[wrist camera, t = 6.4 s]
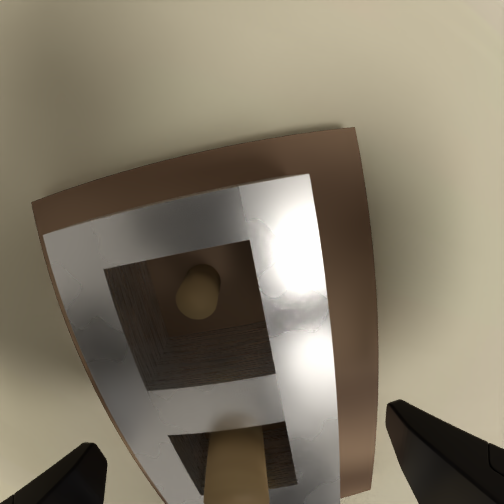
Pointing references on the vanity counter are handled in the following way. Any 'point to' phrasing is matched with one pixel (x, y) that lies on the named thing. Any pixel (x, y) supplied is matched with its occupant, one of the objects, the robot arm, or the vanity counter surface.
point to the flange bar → (210, 337)
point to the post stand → (256, 286)
